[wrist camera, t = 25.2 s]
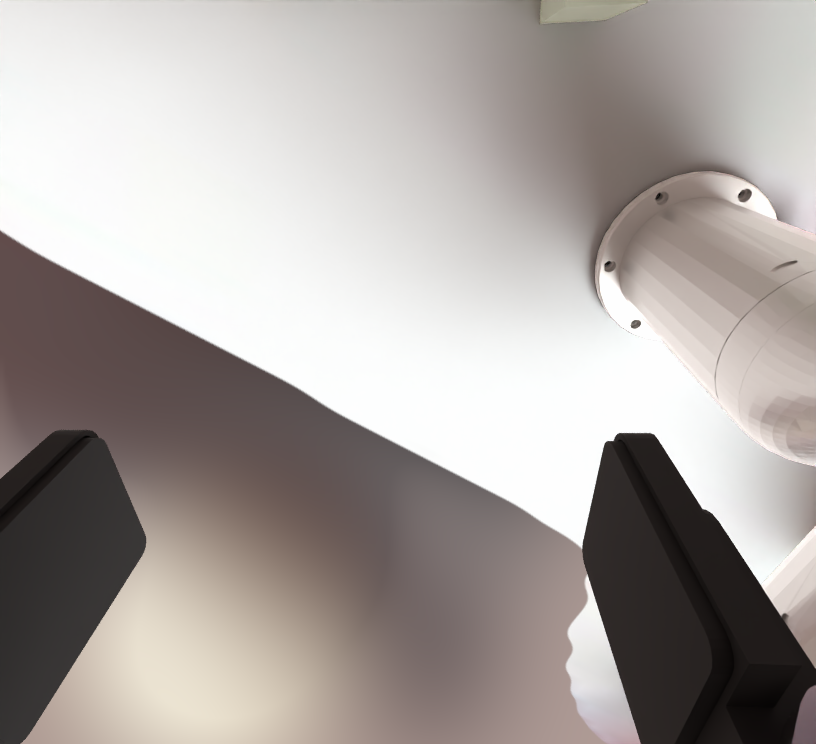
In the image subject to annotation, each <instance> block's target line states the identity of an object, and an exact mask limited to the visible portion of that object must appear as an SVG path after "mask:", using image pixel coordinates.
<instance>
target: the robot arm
mask: <svg viewBox="0 0 816 744" xmlns="http://www.w3.org/2000/svg"><path fill="white" fill-rule="evenodd" d="M740 192H741V194H740V195H739V193H740ZM659 193H660V197H659V198H658V199H656V200H655V198H656V196H657V194H659ZM738 195H739V196H738ZM607 261H609V264H608V265H606V266H604V265H605V263H606V262H607ZM595 284H596V289H597V294H598V297H599V299H600V301H601V303H602V305H603V307H604V309H605V310H606V311H607V313H608V314H609V315H610V317H611V318H612V319H613V320H614V321H615V322H616V323H617V324H618V325H619V326H620V327H622V328H623V329H625V330H626V331H628V332H630V333H632V334H635V335H637V336H640V337H643V338H647V339H653V340H661V341H662V342H663V343H664V344H665V346H666V347H667V348H668V349H669V350H670V351H671V352H672V353H673V354H674V356H675V357H676V358H677V359H678V360H679V361H680V362H681V363H682V364H683V366H684V367H685V368H686V369H687V370H688V371H689V372H690V373H691V374H692V376H693V377H694V378H695V379H696V380H697V381H698V382H699V383H700V384H701V386H702V387H703V388H704V389H705V390H706V391H707V392H708V393H709V394H710V396H711V397H712V398H713V399H714V400H715V401H716V402H717V403H718V404H719V406H720V407H721V408H722V409H723V410H724V411H725V412H726V413H727V415H728V416H729V417H730V418H731V419H732V420H733V421H734V422H735V423H736V424H737V425H738V427H739V428H740V429H741V430H742V431H743V432H744V433H745V434H746V435H748V436H749V437H750V438H751V439H752V440H753V441H755V442H756V443H758V444H759V445H760V446H762V447H763V448H765V449H767V450H768V451H770V452H773V453H775V454H777V455H779V456H781V457H783V458H786V459H788V460H791V461H794V462H798V463H802V464H806V465H811V466H815V467H816V234H813V233H810V232H808V231H805V230H802V229H800V228H797V227H794V226H792V225H789V224H786V223H784V222H781V221H778V220H777V216H776V212H775V210H774V208H773V206H772V205H771V203H770V201H769V199H768V198H767V197H766V196H765V195H764V194H763V193H762V192H761V191H760V190H759V189H758V188H757V187H756V186H755V185H753V184H751V183H749V182H748V181H746V180H744V179H742V178H739V177H736V176H733V175H730V174H725V173H719V172H714V171H703V172H691V173H686V174H682V175H678V176H674V177H672V178H669V179H667V180H664V181H662V182H660V183H657V184H656V185H654V186H652V187H651V188H649V189H647V190H646V191H644V192H643V193H641V194H640V195H639V196H637V197H636V198H635V199H634V200H633V201H631V202H630V203H629V204H628V205H627V206H626V207H625V208H624V209H623V210H622V211H621V213H620V214H619V215H618V216H617V217H616V218H615V220H614V221H613V222H612V224H611V226H610V227H609V229H608V231H607V232H606V234H605V235H604V238H603V240H602V243H601V245H600V248H599V250H598V254H597V259H596V264H595ZM633 320H634V321H633ZM631 321H633V322H631ZM145 547H146V536H145V533H144V531H143V528H142V526H141V524H140V521H139V519H138V517H137V514H136V512H135V510H134V507H133V505H132V503H131V500H130V498H129V496H128V493H127V491H126V489H125V486H124V484H123V482H122V479H121V477H120V475H119V472H118V470H117V468H116V465H115V463H114V461H113V458H112V456H111V454H110V451H109V449H108V447H107V445H106V443H105V441H104V440H103V439H101V438H99V437H98V436H97V434H96V433H94V432H93V431H90V430H59V431H55V432H53V433H52V434H50V435H49V436H48V437H47V438H46V439H45V440H44V441H42V442H41V443H40V444H39V445H38V446H37V447H36V448H35V449H33V450H32V451H31V452H30V453H29V454H28V455H27V456H26V457H24V458H23V459H22V460H21V461H20V462H19V463H18V464H17V465H15V466H14V467H13V468H12V469H11V470H10V471H9V472H8V473H6V474H5V475H4V476H3V477H2V478H1V479H0V744H20V743H22V742H23V740H25V739H26V737H27V736H28V735H29V733H30V732H31V731H32V729H33V727H34V726H35V724H36V723H37V721H38V720H39V718H40V716H41V715H42V713H43V712H44V710H45V708H46V707H47V705H48V704H49V702H50V701H51V699H52V697H53V696H54V694H55V693H56V691H57V689H58V688H59V686H60V685H61V683H62V681H63V680H64V678H65V677H66V675H67V674H68V672H69V671H70V669H71V667H72V666H73V664H74V663H75V661H76V659H77V658H78V656H79V655H80V653H81V651H82V650H83V648H84V647H85V645H86V644H87V642H88V640H89V638H90V637H91V636H92V634H93V632H94V631H95V629H96V628H97V626H98V624H99V623H100V621H101V620H102V618H103V617H104V615H105V614H106V612H107V610H108V609H109V607H110V606H111V604H112V602H113V601H114V599H115V598H116V596H117V595H118V593H119V591H120V590H121V588H122V587H123V585H124V583H125V582H126V580H127V579H128V577H129V576H130V574H131V572H132V570H133V569H134V568H135V566H136V564H137V563H138V561H139V560H140V558H141V557H142V555H143V553H144V550H145ZM582 552H583V560H584V564H585V568H586V571H587V574H588V577H589V580H590V583H591V587H592V590H593V593H594V596H595V599H596V603H597V606H598V609H599V612H600V615H601V618H602V622H603V625H604V628H605V631H606V634H607V637H608V641H609V644H610V647H611V650H612V653H613V656H614V660H615V663H616V666H617V669H618V672H619V675H620V679H621V682H622V685H623V688H624V691H625V694H626V698H627V701H628V704H629V707H630V710H631V714H632V717H633V720H634V723H635V726H636V729H637V733H638V736H639V739H640V742H641V744H816V526H815V527H814V528H813V529H812V530H811V531H810V532H809V533H808V534H807V535H806V537H805V538H804V539H803V540H802V541H801V542H800V543H799V544H798V545H797V546H796V547H795V548H794V550H793V551H792V552H791V553H790V554H789V555H788V556H787V557H786V558H785V559H784V560H783V561H782V562H781V564H780V565H779V566H778V567H777V568H776V569H775V570H774V571H773V572H772V573H771V574H770V575H769V577H768V578H767V579H766V580H765V581H764V582H763V583H762V585H760V583H759V582H758V580H757V579H756V577H755V576H754V574H753V573H752V571H751V570H750V568H749V567H748V565H747V564H746V562H745V561H744V559H743V558H742V556H741V555H740V553H739V552H738V550H737V549H736V547H735V545H734V544H733V542H732V541H731V539H730V538H729V536H728V535H727V533H726V532H725V530H724V529H723V527H722V526H721V524H720V523H719V521H718V520H717V519H716V518H715V517H714V515H713V514H712V513H710V512H709V511H707V510H703V509H702V508H701V506H700V505H699V503H698V501H697V500H696V498H695V497H694V495H693V494H692V492H691V490H690V489H689V487H688V486H687V484H686V483H685V481H684V480H683V478H682V476H681V475H680V473H679V472H678V470H677V469H676V467H675V465H674V464H673V462H672V461H671V459H670V458H669V456H668V454H667V453H666V451H665V450H664V448H663V447H662V445H661V444H660V442H659V440H658V439H657V438H656V436H655V435H653V434H651V433H619V434H617V435H616V437H615V439H614V441H607V442H606V443H605V445H604V448H603V453H602V457H601V462H600V467H599V471H598V476H597V480H596V485H595V489H594V494H593V499H592V503H591V508H590V512H589V517H588V522H587V526H586V531H585V535H584V540H583V546H582Z"/></svg>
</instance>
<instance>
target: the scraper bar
mask: <svg viewBox="0 0 816 744" xmlns="http://www.w3.org/2000/svg"><path fill="white" fill-rule="evenodd" d="M647 2H648V0H541V6H540V19H539V24H549V23H567V22H585V21H603V20H607V19H610V18H612V17H614V16H617V15H619V14H621V13H624V12H626V11H629V10H631V9H633V8H636V7H638V6H640V5H643V4H645V3H647Z"/></svg>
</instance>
